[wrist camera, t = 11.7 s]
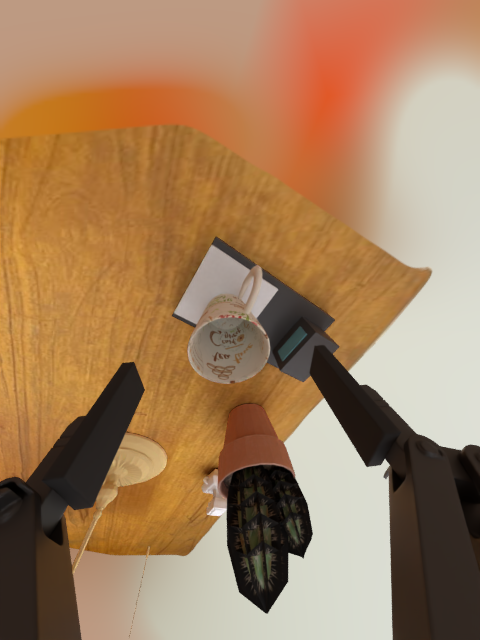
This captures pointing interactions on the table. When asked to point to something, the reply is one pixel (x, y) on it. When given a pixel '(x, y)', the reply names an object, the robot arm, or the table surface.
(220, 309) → the mug
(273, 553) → the potted plant
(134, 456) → the desk lamp
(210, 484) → the stamp
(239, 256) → the scale
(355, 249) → the table surface
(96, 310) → the table surface
